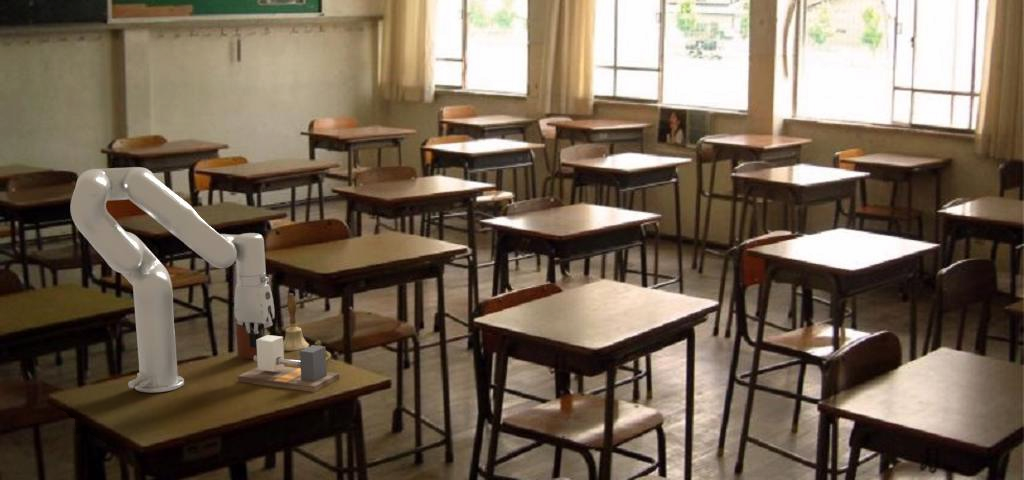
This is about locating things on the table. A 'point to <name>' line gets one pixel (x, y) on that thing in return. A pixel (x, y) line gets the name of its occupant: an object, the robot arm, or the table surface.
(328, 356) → the seal
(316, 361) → the connector block
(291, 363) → the metal rod
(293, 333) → the hand bell
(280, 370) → the board
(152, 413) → the table surface
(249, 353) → the bottle
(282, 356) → the sleeve
